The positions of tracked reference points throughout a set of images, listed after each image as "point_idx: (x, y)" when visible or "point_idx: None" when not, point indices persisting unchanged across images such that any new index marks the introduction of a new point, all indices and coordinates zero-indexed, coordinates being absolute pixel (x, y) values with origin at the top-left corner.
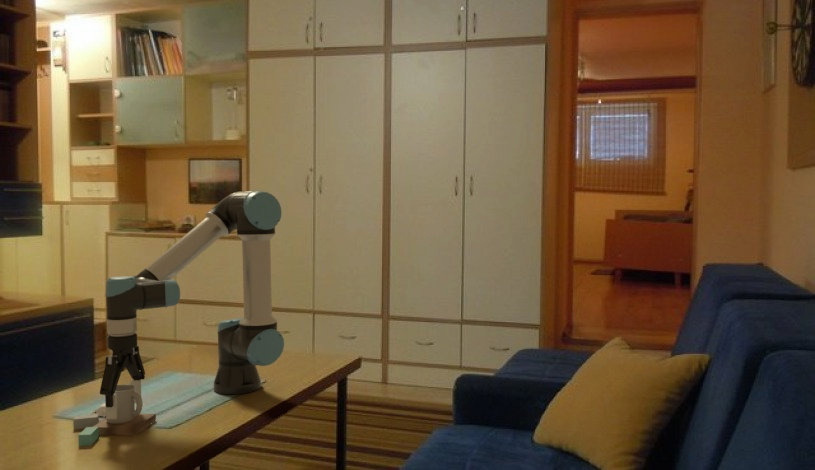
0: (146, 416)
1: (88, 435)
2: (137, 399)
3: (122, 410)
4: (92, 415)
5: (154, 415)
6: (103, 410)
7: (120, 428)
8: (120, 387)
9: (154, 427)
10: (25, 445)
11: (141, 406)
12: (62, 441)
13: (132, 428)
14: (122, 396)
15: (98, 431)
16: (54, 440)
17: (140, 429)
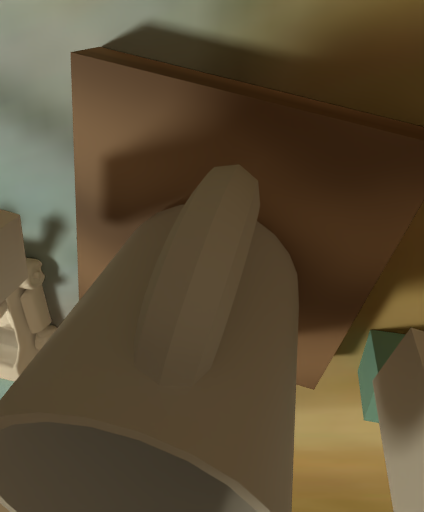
0: (139, 119)
1: None
2: (238, 264)
3: (290, 322)
4: None
5: (96, 56)
6: (31, 356)
7: (388, 255)
8: (23, 469)
9: (257, 11)
10: (376, 509)
11: (241, 179)
12: (376, 437)
13: None
14: (282, 442)
15: (377, 354)
16: (350, 454)
17: (350, 113)
